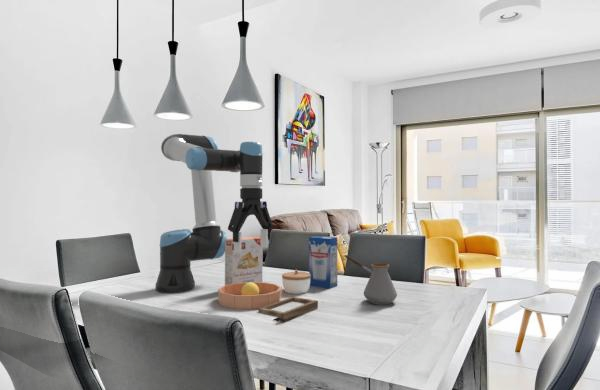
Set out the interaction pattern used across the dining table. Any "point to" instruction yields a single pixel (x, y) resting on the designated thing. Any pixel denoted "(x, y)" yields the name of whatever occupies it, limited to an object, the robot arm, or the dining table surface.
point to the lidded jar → (296, 282)
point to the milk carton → (323, 261)
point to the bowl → (235, 299)
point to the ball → (250, 289)
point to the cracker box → (243, 261)
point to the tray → (293, 312)
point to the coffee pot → (378, 284)
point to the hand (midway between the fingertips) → (251, 249)
